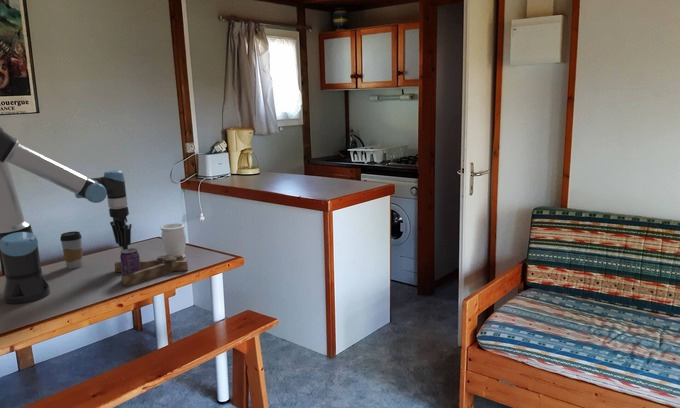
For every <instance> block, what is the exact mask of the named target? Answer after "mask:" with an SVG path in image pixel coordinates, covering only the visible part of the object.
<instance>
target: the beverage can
mask: <svg viewBox="0 0 680 408" xmlns="http://www.w3.org/2000/svg"><path fill="white" fill-rule="evenodd" d="M119 257H120V258H119V259H120V262H121V267H122V272H121V274H122V275H121V276H124V275H127V274H130V273H133V272H137V271H140V270H141V266H140V261H141V259H140V257H141V256H140V252H139V251H138V249H137V248H135V247H134V248H133V247H131V248H128V249H125V250H122V251H121V252H120V256H119Z"/></svg>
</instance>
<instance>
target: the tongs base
mask: <svg viewBox="0 0 680 408" xmlns="http://www.w3.org/2000/svg"><path fill="white" fill-rule="evenodd" d="M175 257H176V261H183V260H184V258H183V256H182V255H178V256H174V258H175ZM172 262H173V261H169V262H166V261H164V262H163V263H162V264H159V265H156V266H153V267H150V268H146V269H143V270H140V271H137V272H133V273H130V274H127V275H124V276H123V275H121V276H120V278H121V285H122V287H124V288H127V287H130V286H133V285H136V284H139V283H143V282H145V281H147V280H151V279H154V278H156V277H160V276H163V275H165V274H169V273H172V272H173V269H172Z"/></svg>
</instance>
